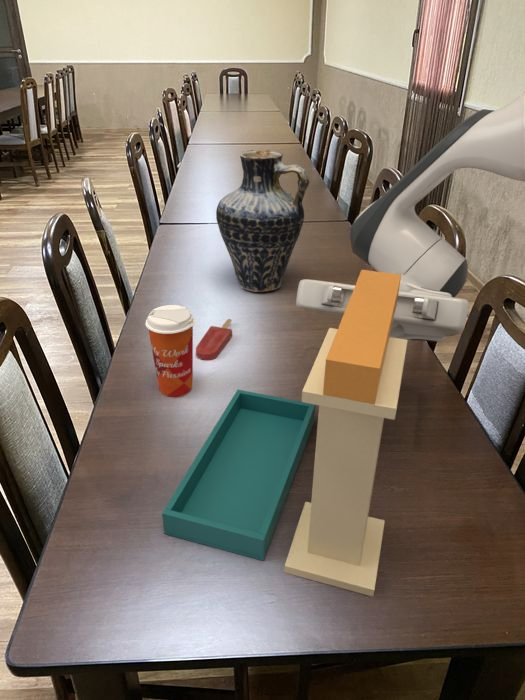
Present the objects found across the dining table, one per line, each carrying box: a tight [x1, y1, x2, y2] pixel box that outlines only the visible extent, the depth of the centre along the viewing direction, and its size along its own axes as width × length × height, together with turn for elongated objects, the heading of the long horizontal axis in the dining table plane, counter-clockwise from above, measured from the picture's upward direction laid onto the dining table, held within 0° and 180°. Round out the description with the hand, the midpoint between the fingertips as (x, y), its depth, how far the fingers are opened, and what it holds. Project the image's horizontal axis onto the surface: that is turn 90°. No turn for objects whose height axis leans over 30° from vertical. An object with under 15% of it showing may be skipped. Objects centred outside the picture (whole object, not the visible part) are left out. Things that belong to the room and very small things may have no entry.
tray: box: [161, 389, 316, 562], centre depth 73 cm, size 27×13×4 cm, turn 163°
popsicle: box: [195, 318, 233, 361], centre depth 105 cm, size 4×2×15 cm
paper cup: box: [145, 304, 196, 398], centre depth 88 cm, size 8×8×14 cm
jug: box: [215, 149, 310, 293], centre depth 121 cm, size 21×19×30 cm
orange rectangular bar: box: [323, 269, 401, 404], centre depth 52 cm, size 20×4×4 cm, turn 163°
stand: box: [283, 327, 409, 598], centre depth 57 cm, size 12×10×26 cm
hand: (376, 299), depth 59 cm, fingers open, 8 cm apart
